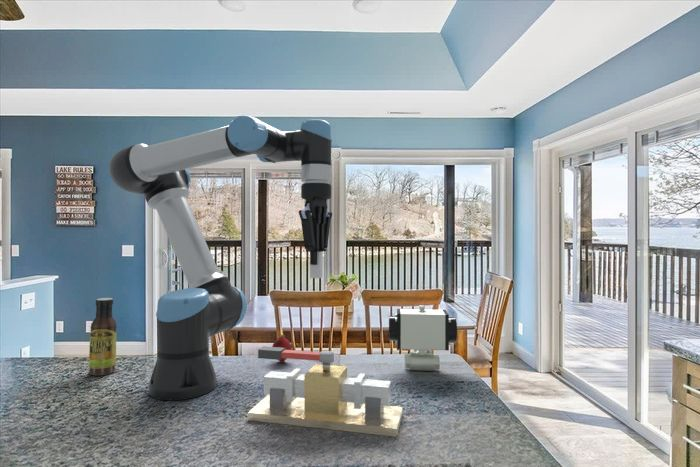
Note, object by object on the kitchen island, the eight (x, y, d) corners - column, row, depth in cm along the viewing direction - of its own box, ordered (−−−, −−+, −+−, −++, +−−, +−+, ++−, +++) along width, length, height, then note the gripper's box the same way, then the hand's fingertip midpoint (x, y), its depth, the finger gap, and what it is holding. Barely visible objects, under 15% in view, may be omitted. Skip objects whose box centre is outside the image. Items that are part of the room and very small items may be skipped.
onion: (282, 366, 118) (282, 338, 118) (267, 363, 122) (267, 335, 122) (295, 361, 123) (295, 333, 123) (281, 358, 126) (281, 331, 126)
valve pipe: (247, 420, 85) (247, 364, 85) (268, 400, 94) (268, 350, 94) (396, 436, 78) (396, 376, 78) (402, 414, 87) (402, 360, 87)
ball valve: (452, 365, 120) (452, 302, 119) (457, 375, 111) (457, 308, 111) (389, 363, 121) (389, 301, 121) (388, 373, 113) (388, 307, 113)
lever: (335, 359, 87) (335, 350, 87) (331, 364, 84) (331, 355, 84) (263, 354, 91) (263, 346, 91) (257, 358, 88) (257, 349, 88)
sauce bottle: (85, 377, 109) (85, 301, 109) (93, 370, 115) (93, 297, 115) (112, 375, 111) (112, 300, 111) (119, 368, 117) (119, 296, 117)
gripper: (316, 186, 113) (316, 274, 113) (289, 181, 101) (289, 279, 101) (341, 185, 110) (341, 276, 110) (316, 179, 98) (316, 281, 98)
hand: (316, 277), depth 105 cm, fingers closed
